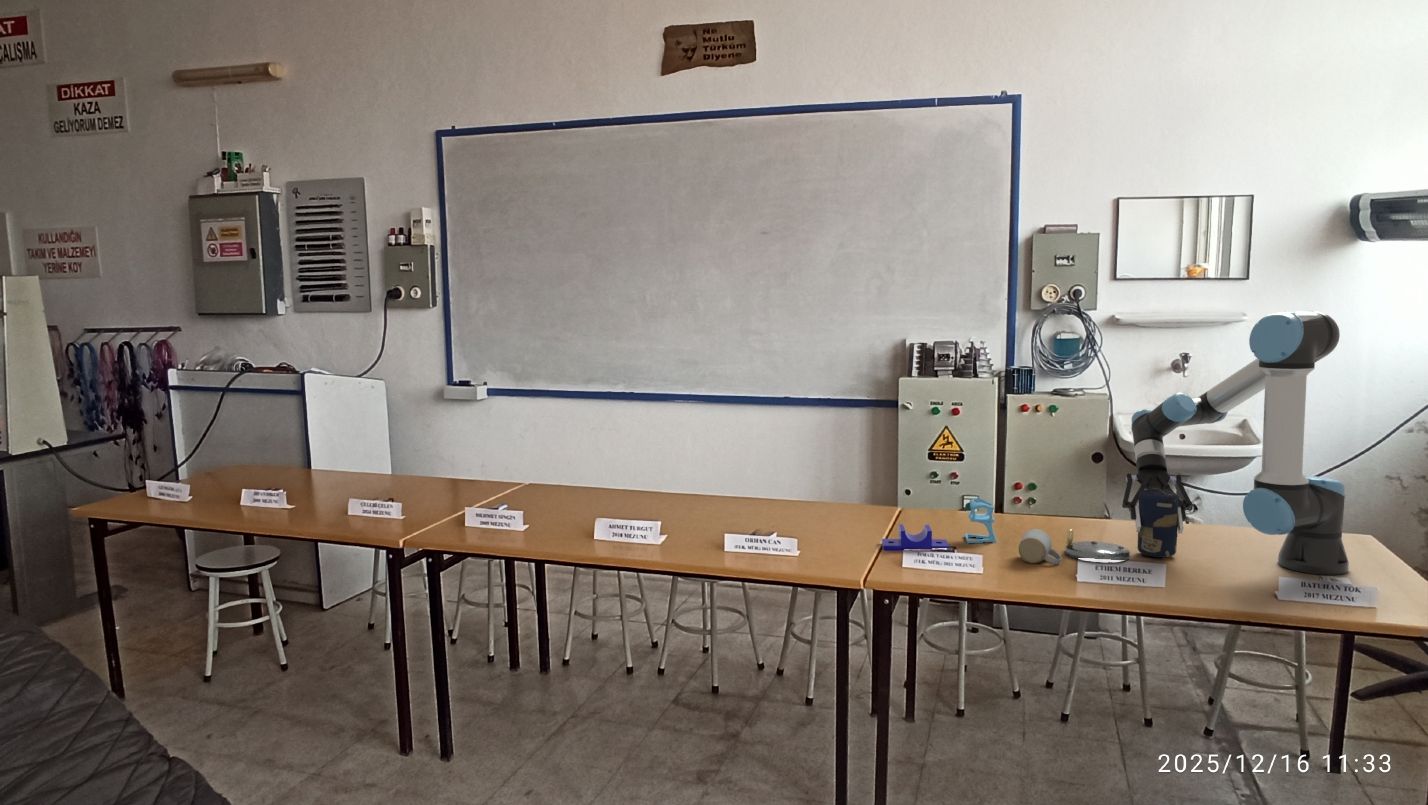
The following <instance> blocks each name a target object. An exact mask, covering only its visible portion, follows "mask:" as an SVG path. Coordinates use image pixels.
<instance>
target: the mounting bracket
mask: <svg viewBox="0 0 1428 805" xmlns="http://www.w3.org/2000/svg"><path fill="white" fill-rule="evenodd" d="M923 526H924V527H923V529H922V531H921V532H919V533H917V534H911V533H908V532H907V531H906V529H905V526H904V524H898V538H881V547H882V551H887V552H890V551H891V552H892V551H895V552H899V551H901V552H903V551H902V550H904V549H932V548H950V547H951V546H950V544H949V543H948V542H949V541H948V540H947V539H945V538H944V539H943V538H941V539H938V538H937V539H935V538H934V539H933V533H932V532H933V530H932V527H931V526H930V524H924V525H923Z"/></svg>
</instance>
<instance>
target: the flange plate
mask: <svg viewBox="0 0 1428 805" xmlns="http://www.w3.org/2000/svg"><path fill="white" fill-rule="evenodd" d="M1130 554H1131V552H1130V550H1129V549H1128V548H1126V547H1124V546H1121V545H1119V544H1114V543H1110V542H1104V541H1095V540H1092V541H1090V540H1089V541H1086V540H1084V541H1074V529H1072V528H1067V529H1066V544H1065V555H1066V556H1068V557H1069V558H1071V559H1073V560H1077V559H1078V558H1095V559H1111V560H1127V559H1128V558H1129V557H1130V558H1131V555H1130ZM1130 558H1129V559H1130ZM1127 561H1128V560H1127Z"/></svg>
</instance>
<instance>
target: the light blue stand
mask: <svg viewBox="0 0 1428 805" xmlns="http://www.w3.org/2000/svg"><path fill="white" fill-rule="evenodd" d="M992 504H993V503H992V502H989V501H986V500H985V499H981V498H975V499H974V498H973V499H970V500H969V506H970V512H968V518H969V521H970V522H971V523H980V524H982V525H984V526H985V527H986V529H987V532H988V534H989V535H984V534H983V535H982V534H975V533H964V538H966V539H965V541H966V544H968V543H975V544H984V543H983V542H986V543H985V544H987V542H992V543H997V538H996V535H995V531H994V528H993V523H995V518H994V517H993V512H994V509H995V507H994V506H992ZM982 508H984V509H986V510H987V511H986V513H976V511H975V510H977V509H982ZM971 537H976V538H975V539H969V538H971ZM979 538H983V539H979Z"/></svg>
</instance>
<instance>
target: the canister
mask: <svg viewBox="0 0 1428 805" xmlns="http://www.w3.org/2000/svg"><path fill="white" fill-rule="evenodd" d="M1178 497H1179V494H1178V493H1177V492H1175V491H1174V492H1171V491H1167V490H1161V489H1159V488H1153V489H1149V490H1148V489H1146V490H1143V491H1141V492H1140V494H1139V502H1138V506H1139V514H1140V523H1141V529H1140V532H1137V550H1138V552H1139V553H1141V554H1143V555H1145V556H1149V557H1154V558H1169V557H1172V556H1174V555H1176V553H1177V545H1178V544H1177V542H1178Z"/></svg>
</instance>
